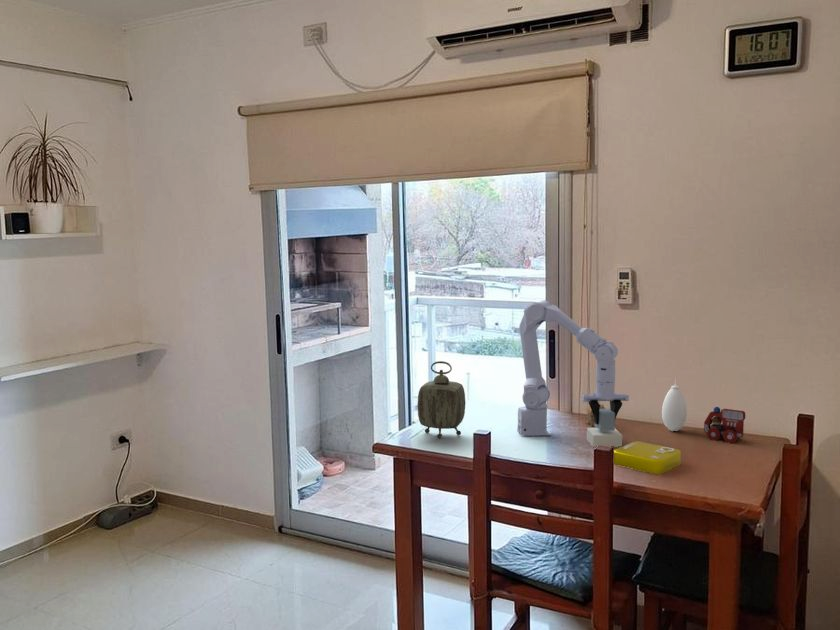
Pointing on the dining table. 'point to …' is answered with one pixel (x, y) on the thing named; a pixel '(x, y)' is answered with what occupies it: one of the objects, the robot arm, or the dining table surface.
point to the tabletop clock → (441, 403)
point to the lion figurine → (590, 415)
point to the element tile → (647, 457)
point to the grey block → (606, 420)
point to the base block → (604, 437)
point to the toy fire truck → (725, 424)
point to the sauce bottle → (674, 409)
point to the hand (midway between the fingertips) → (604, 423)
